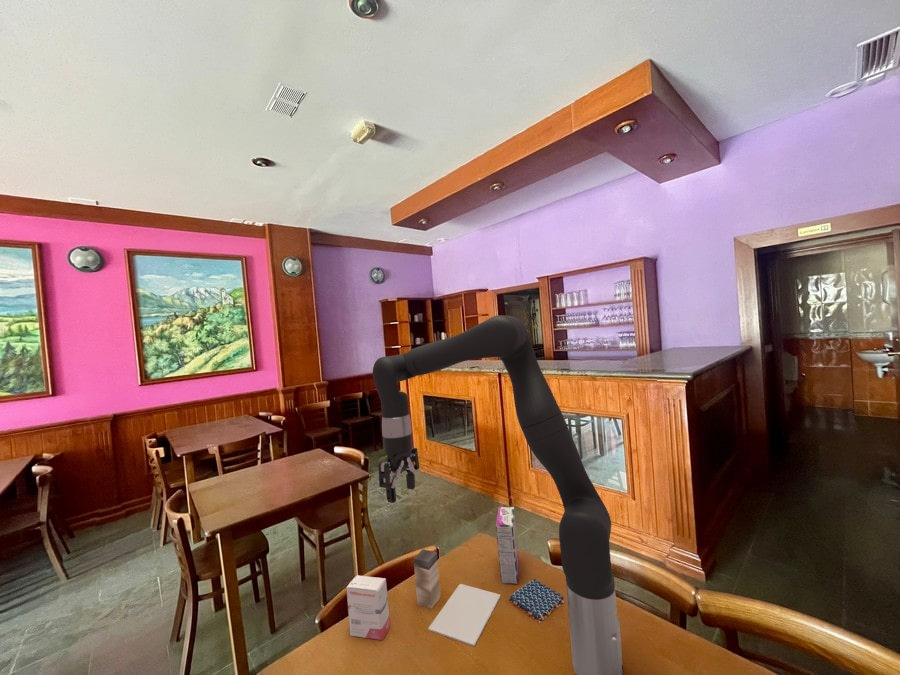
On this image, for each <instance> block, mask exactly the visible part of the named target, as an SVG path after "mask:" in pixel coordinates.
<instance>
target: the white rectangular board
mask: <svg viewBox="0 0 900 675" xmlns="http://www.w3.org/2000/svg"><path fill="white" fill-rule="evenodd" d="M501 596H502V594H499V593H496V592H492V591H489V590H486V589H485V590H484V589H481V588H478V587H474V586H470V585H467V584H463V583H460V584H459V585H458V586H457V587H456V589H455V590H454V592H453V593H452V594H451V596H450V597H449V598H448V600H446V603H445V604H444V606H443V607H442V608H441V609H440V611H439V613H437V615H436V617H435V618H434V619H433V621H432V623H430V625H429V627H427V628H428V631H430V632H432V633H436V634H438V635H441V636H443V637H447V638H449V639H452V640H455V641H458V642H460V643H463V644H466V645H469V646H471V647H476V644H477V642H478V640H479V639H480V637H481V635H482V633H483V631H484V630H485V628H486V625H487V623H488V621H489V619H490V617H491V616H492V614H493V612H494V610H495V608H496V607H497V604H498V603H499V601H500V598H501Z"/></svg>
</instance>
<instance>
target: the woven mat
mask: <svg viewBox="0 0 900 675" xmlns="http://www.w3.org/2000/svg"><path fill="white" fill-rule="evenodd" d="M508 601H509V602H510V604H512V605H513V606H514V607H517V609H519V610H520V611H522V612H524V613H525V614H526V615H527V616H528V617H531V618H532V619H533V620H534V621H536V622H538V623H539V624H541V623H542V621H543V620H545V619H547V618H548V616H550V615H551V613H553V611H555V609H558V608H559V607H561V606H562V605H561V604H564V603H565V601H564V596H563V595H562V596H561V593H558V592H556V590H554V589H551V587H548V586H546V584H544V583H542V582H541V581H537V579H536V578H533V580H529V582H528V583H525V584H524V585H522V586H521V588H518V589H517V590H516V591H514V593H512V594H510V596H509V599H508ZM540 620H542V621H540Z"/></svg>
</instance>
